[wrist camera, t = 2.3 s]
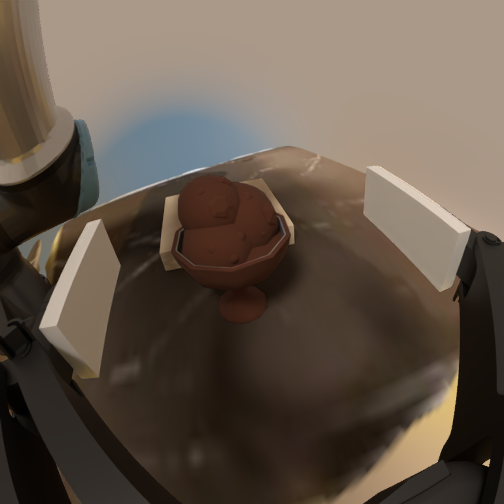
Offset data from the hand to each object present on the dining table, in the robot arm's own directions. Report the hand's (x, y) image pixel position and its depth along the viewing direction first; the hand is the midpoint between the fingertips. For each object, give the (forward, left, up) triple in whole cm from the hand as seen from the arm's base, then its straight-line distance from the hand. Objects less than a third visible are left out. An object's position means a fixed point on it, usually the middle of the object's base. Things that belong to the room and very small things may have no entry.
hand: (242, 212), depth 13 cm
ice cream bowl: (0, +11, -17) cm, 20 cm away
